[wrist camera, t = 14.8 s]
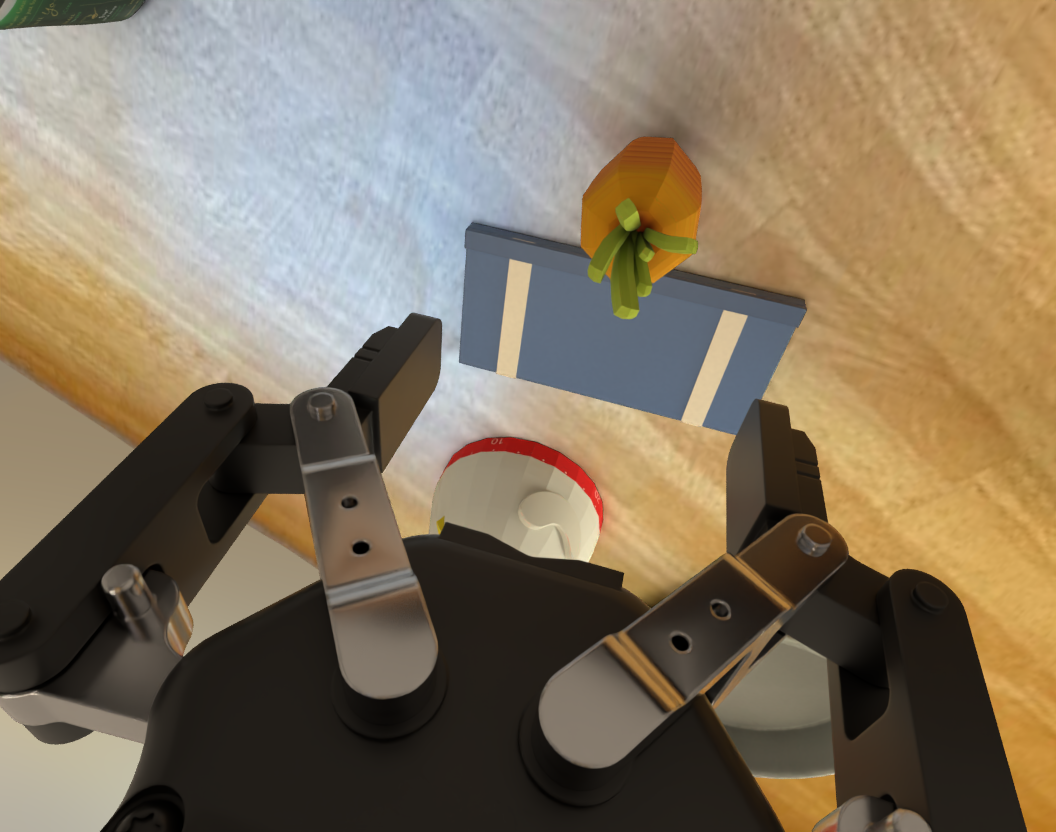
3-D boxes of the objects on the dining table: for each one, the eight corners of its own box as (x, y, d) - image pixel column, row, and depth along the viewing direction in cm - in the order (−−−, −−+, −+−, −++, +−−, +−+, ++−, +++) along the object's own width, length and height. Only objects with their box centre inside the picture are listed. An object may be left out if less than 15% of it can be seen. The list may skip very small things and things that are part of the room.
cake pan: (771, 545, 47) (774, 593, 43) (943, 707, 53) (958, 760, 50) (556, 630, 61) (546, 671, 58) (712, 749, 68) (711, 793, 64)
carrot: (639, 85, 30) (586, 175, 19) (728, 130, 30) (729, 246, 19) (596, 178, 33) (529, 303, 22) (677, 218, 33) (651, 363, 22)
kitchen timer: (515, 408, 45) (443, 569, 33) (638, 520, 49) (611, 698, 37) (413, 484, 53) (327, 634, 42) (525, 574, 57) (474, 734, 45)
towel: (471, 222, 37) (465, 229, 36) (805, 299, 34) (807, 309, 33) (462, 357, 43) (456, 366, 42) (742, 430, 41) (743, 441, 40)
